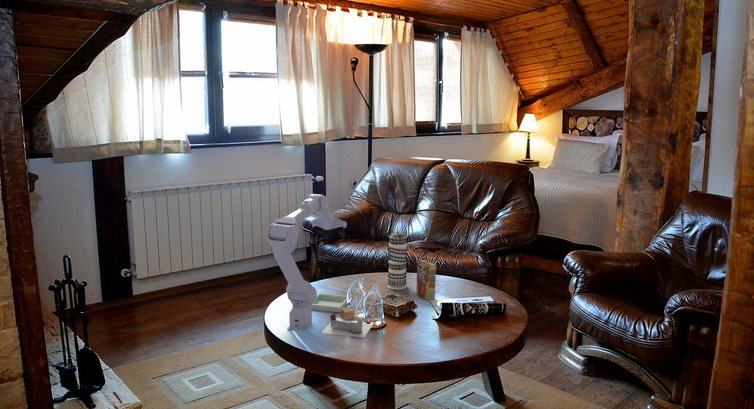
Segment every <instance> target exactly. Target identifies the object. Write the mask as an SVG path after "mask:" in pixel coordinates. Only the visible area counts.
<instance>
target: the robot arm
mask: <svg viewBox="0 0 754 409" xmlns="http://www.w3.org/2000/svg"><path fill="white" fill-rule="evenodd" d="M314 214H315V216H316V219H312V221H311V225H312V227H314V228H315V229H314V231H315V232H317V233H319V234H321V235H322V236H324V237H325V238H328V236H329V230H333V229H336V233H338V234H339V235H340V237H341V238H342V239H344V238H345V237H346V228H347V225H348V223H347V221H345V220H342V219H339V218H336V217H335V216H334V215H333V214H332V211H331V210H330V208H329V203H328V197H327V196H326V195H324V194H319V193H318V194H316V193H310V194H307V196H306V199H304V200H303V202H301V203H300V204H299V205H298V207H297V210H294V211H293V212H291V213H290V214H287V215H285V216H284V217H281V218H278V219H276V220H274V222H272V223H270V224H269V226H268V227H267V230H266V240H267V242H268V244H269V245H270V247H271V249H272V253H273V257H274V259H275V261H276V263H277V265H278V266H279V268H280V270H281V273H283V276H284V277H285V279H286V281H287V283H288V284H287V285H286V288H285V291H286V295H287V298H288V300H289V301H290V304H291V305H292V308H291V310H290V312H289V315H288V316H289V320H288V321H289V326H287V328H286V329H287V330H288V331H289V330H292V331H293V330H294V329H298V330H299V329H300V330H306V329H307V328H308V327H309V326H311V325H312V324H313V310H312V303H313V302H314V301H315V300H316V296H317V294H318V292H317V289H316V287H314V286H313V285H312V283H310V282H308V281H306V280H305V279H304V277H303V275H302V274H301V271H300V269H299V268H298V266H297V263H296V261H295V259H294V258H293V255H292V253H293V252H295V249H296V246H297V242H298V240H299V236H300V226H299V223H300V222H301V221H302V220H303V219H305V218H307V219H308V218H310V217H311V216H312V215H314Z"/></svg>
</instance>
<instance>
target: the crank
mask: <svg viewBox="0 0 754 409" xmlns="http://www.w3.org/2000/svg"><path fill="white" fill-rule="evenodd" d="M336 313H337V312H333V313H332V314H331V315H330V316H329V317H330V318H329V319H330V323H331V327H332V328H338V329H343V330H348V331H350V332H351V333H353V334H360V333H362V320H363V319H356V318H355V319H354V320H351V321H349V320H343V319H338V318H339V317H337V316H336V315H337V314H336ZM336 317H337V318H336Z"/></svg>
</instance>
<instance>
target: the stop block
mask: <svg viewBox="0 0 754 409" xmlns="http://www.w3.org/2000/svg"><path fill="white" fill-rule="evenodd" d="M355 315H356V310H355V309H353V308H352V307H351V306H347V307H344V308H341V312H340V318H341V319H343V320H349V321H351V320H354V319H356V316H355Z"/></svg>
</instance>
